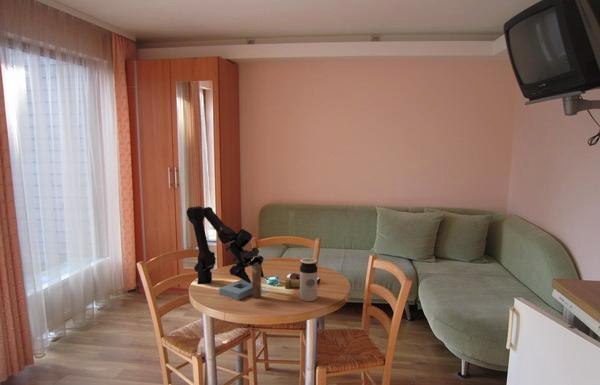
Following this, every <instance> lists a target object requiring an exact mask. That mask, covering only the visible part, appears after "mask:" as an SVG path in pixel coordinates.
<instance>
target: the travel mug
mask: <svg viewBox="0 0 600 385" xmlns="http://www.w3.org/2000/svg"><path fill="white" fill-rule="evenodd" d="M317 262H318V260H317V259H316V258H311V257H310V258H309V257H307V258H305V257H304V258H302V259H300V263H301V264H300V266H299V280H300V287H299V299H300V300H301V301H304V302H313V301H316V300H317V298H318V266H317Z"/></svg>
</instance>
